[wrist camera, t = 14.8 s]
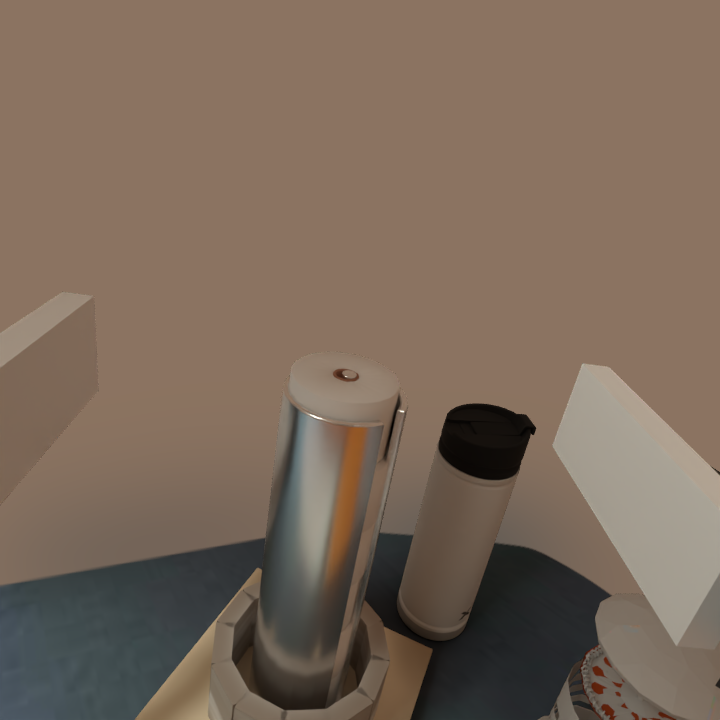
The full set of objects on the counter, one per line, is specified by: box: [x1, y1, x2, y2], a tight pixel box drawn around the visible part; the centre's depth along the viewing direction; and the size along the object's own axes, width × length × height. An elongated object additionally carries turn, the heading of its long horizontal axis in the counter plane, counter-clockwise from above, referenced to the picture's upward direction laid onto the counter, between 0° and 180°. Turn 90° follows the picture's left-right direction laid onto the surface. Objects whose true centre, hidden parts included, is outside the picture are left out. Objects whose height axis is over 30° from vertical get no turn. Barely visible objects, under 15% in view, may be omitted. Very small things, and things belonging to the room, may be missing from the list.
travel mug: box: [397, 404, 536, 641], centre depth 44 cm, size 6×7×20 cm
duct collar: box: [135, 568, 433, 720], centre depth 37 cm, size 16×16×6 cm
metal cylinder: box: [249, 352, 408, 710], centre depth 33 cm, size 6×6×25 cm
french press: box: [538, 594, 720, 720], centre depth 32 cm, size 10×12×25 cm
